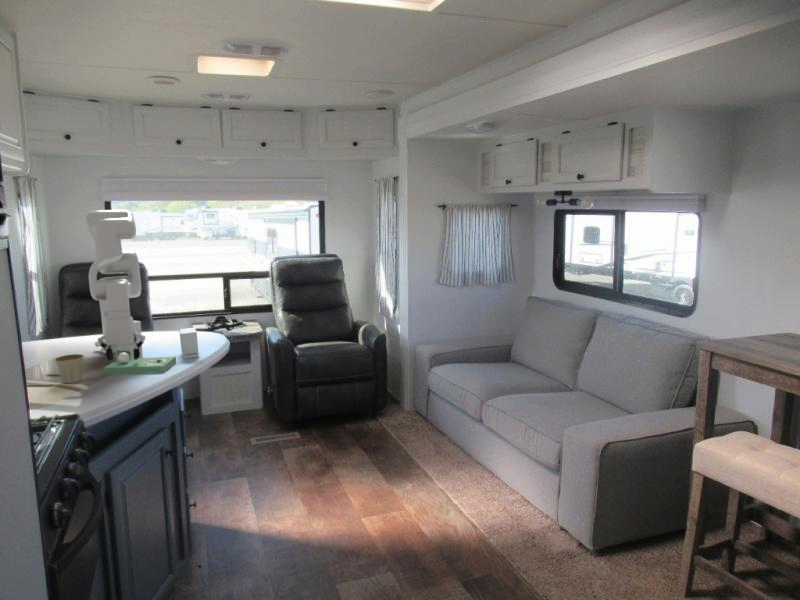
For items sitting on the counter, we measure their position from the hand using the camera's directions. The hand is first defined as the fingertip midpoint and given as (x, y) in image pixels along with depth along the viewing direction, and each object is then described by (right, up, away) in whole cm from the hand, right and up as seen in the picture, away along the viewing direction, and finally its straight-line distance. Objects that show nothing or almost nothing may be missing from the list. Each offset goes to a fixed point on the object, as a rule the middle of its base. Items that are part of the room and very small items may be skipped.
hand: (123, 359), depth 231 cm
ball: (0, +1, 0) cm, 1 cm away
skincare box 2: (+18, -1, +20) cm, 27 cm away
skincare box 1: (-5, -2, +17) cm, 17 cm away
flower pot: (-12, -7, -13) cm, 19 cm away
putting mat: (+6, -4, +1) cm, 7 cm away
